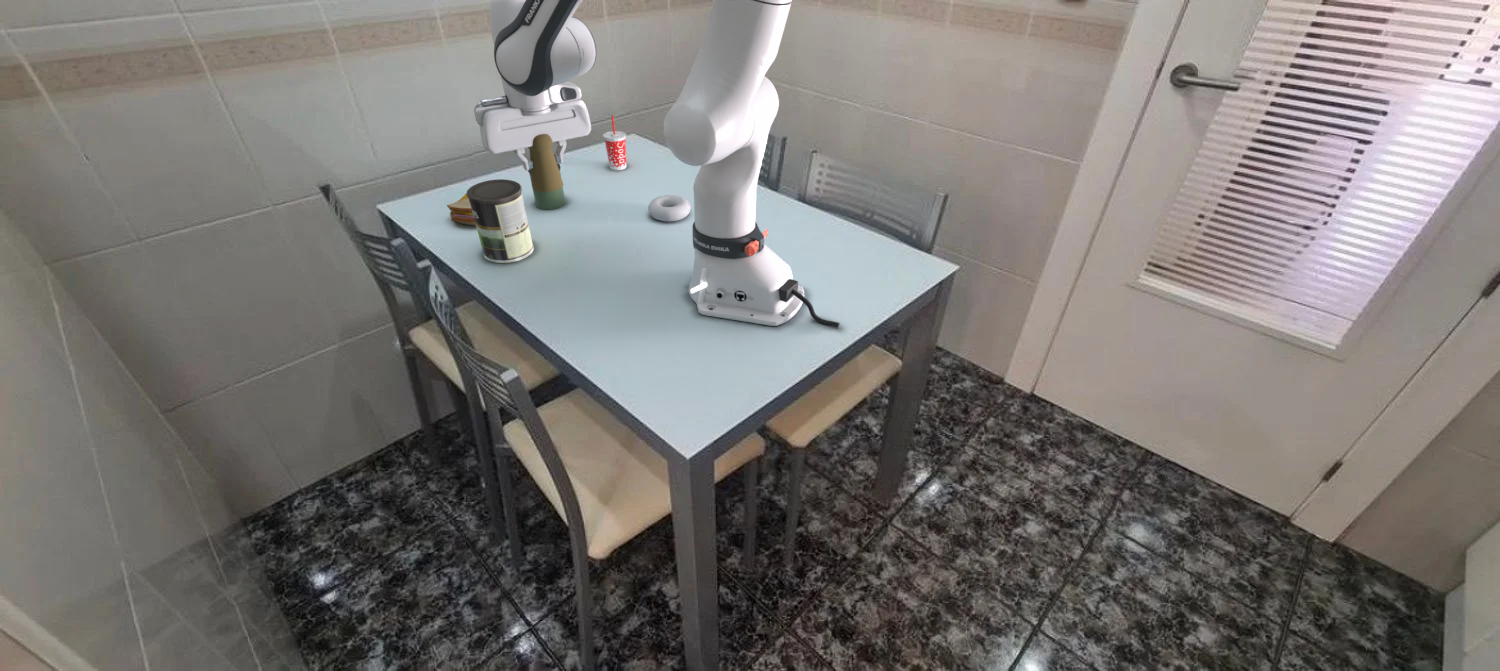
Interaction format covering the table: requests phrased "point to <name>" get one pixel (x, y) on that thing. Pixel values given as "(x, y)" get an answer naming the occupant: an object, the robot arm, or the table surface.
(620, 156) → the beverage cup
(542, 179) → the cork
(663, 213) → the donut
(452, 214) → the toy sandwich meal
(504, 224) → the coffee can
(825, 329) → the table surface
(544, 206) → the olive tin
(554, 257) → the table surface
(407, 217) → the table surface
